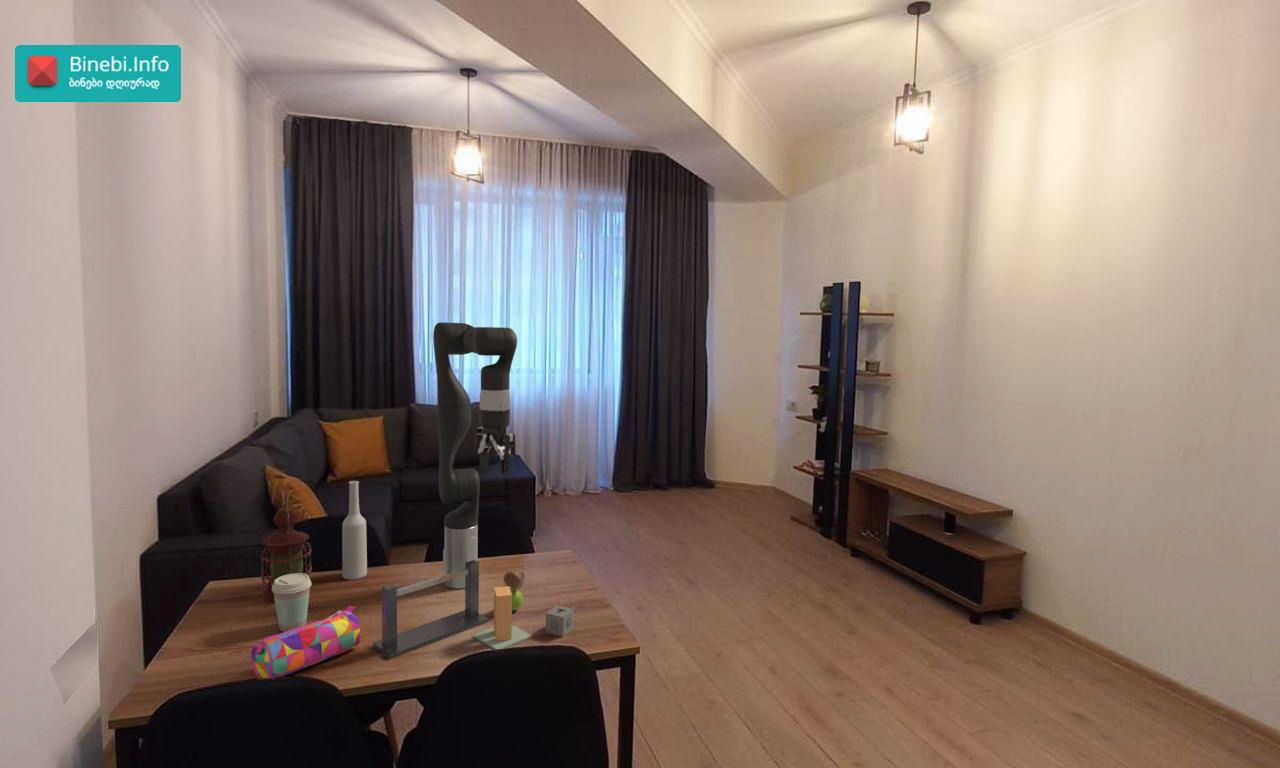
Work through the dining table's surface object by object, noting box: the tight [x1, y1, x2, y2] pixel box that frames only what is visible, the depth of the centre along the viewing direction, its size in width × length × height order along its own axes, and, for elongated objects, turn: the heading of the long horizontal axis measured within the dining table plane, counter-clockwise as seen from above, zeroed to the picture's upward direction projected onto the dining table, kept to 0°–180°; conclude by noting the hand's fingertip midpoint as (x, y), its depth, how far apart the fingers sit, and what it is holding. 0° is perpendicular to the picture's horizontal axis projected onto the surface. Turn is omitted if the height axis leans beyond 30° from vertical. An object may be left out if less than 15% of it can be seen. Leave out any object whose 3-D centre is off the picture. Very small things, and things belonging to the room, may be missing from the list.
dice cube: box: [545, 605, 575, 638], centre depth 163 cm, size 5×5×5 cm
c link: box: [493, 586, 513, 641], centre depth 158 cm, size 5×4×11 cm, turn 18°
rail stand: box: [372, 560, 489, 660], centre depth 158 cm, size 8×26×15 cm, turn 138°
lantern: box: [260, 484, 313, 603], centre depth 177 cm, size 12×12×30 cm
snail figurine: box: [503, 566, 527, 612], centre depth 173 cm, size 5×6×12 cm
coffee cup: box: [272, 573, 312, 633], centre depth 160 cm, size 8×8×12 cm
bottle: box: [341, 480, 368, 580], centre depth 192 cm, size 7×7×28 cm
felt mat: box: [472, 624, 533, 651], centre depth 159 cm, size 10×10×1 cm
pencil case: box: [250, 605, 362, 679], centre depth 144 cm, size 22×9×9 cm, turn 147°
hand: (494, 470), depth 166 cm, fingers open, 8 cm apart
